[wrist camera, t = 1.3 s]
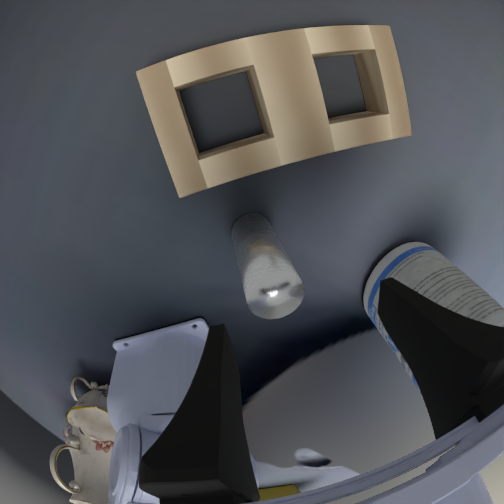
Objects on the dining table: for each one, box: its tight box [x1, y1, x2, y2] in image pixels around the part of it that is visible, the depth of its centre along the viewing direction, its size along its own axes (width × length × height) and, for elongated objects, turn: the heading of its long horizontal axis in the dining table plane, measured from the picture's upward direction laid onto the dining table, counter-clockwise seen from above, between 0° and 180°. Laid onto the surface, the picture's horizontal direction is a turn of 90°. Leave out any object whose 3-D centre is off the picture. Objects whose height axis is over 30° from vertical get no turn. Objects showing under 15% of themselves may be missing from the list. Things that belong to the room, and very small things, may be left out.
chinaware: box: [50, 377, 117, 504], centre depth 26 cm, size 28×17×17 cm, turn 15°
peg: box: [231, 213, 304, 319], centre depth 18 cm, size 3×3×8 cm
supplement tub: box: [363, 242, 504, 393], centre depth 20 cm, size 10×10×15 cm
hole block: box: [136, 25, 412, 198], centre depth 16 cm, size 16×8×3 cm, turn 105°
